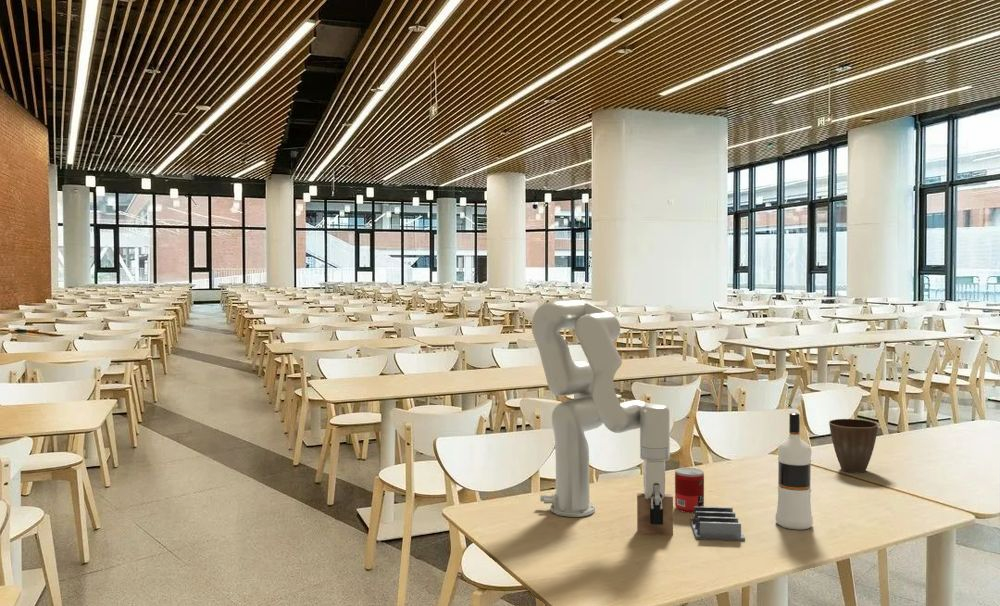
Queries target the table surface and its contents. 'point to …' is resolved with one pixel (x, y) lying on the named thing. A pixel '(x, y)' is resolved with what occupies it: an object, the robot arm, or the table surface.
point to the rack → (716, 524)
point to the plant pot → (853, 442)
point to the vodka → (794, 480)
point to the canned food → (689, 489)
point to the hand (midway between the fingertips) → (655, 517)
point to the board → (644, 516)
